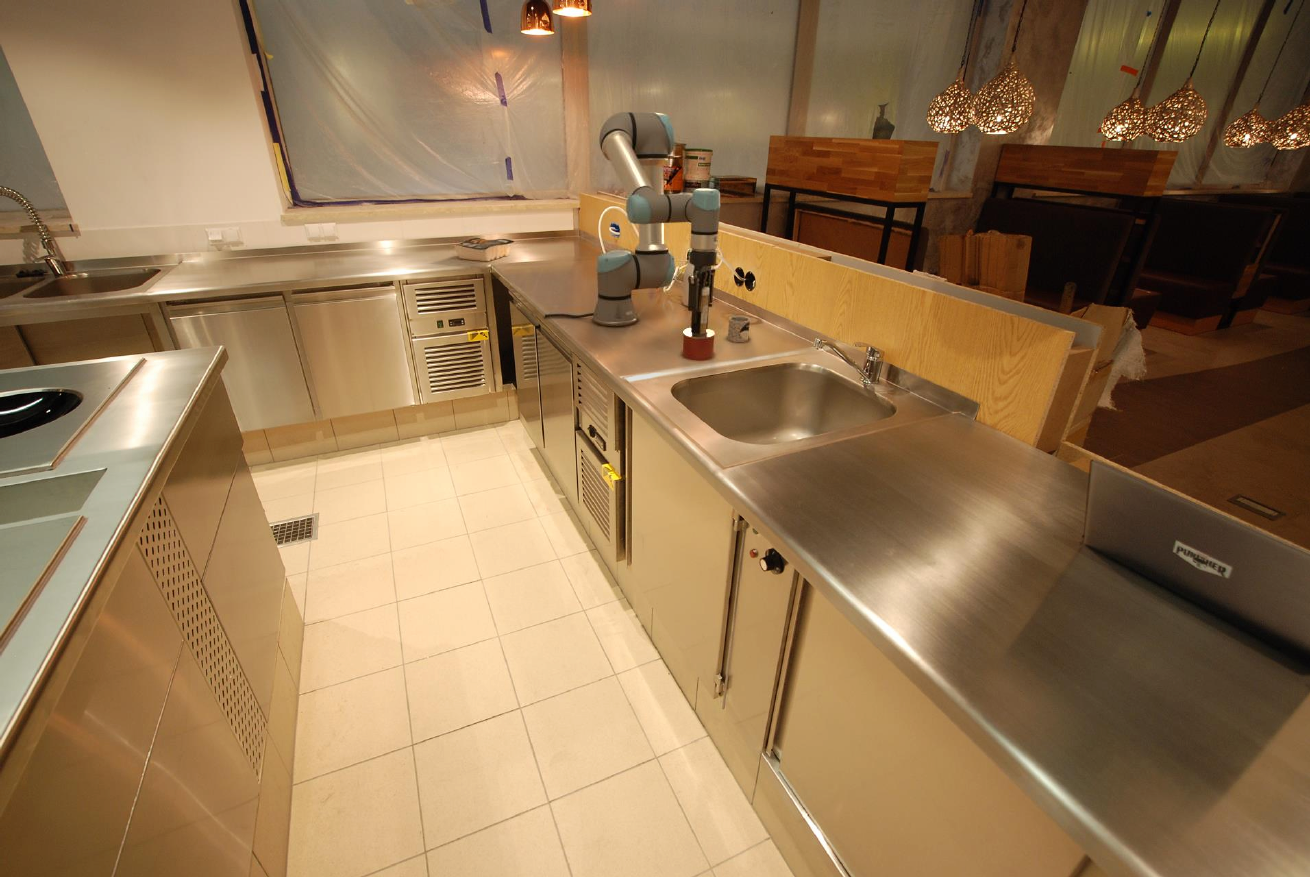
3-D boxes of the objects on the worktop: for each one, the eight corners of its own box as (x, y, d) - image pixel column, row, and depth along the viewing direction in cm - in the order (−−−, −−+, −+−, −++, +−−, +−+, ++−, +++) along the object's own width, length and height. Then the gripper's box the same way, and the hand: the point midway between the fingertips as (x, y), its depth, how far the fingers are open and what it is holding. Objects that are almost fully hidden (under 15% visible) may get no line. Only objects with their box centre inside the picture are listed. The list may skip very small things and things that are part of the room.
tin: (677, 356, 172) (677, 334, 169) (690, 347, 180) (691, 325, 176) (705, 362, 168) (706, 339, 165) (718, 352, 176) (719, 330, 172)
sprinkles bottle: (688, 332, 170) (690, 287, 164) (697, 329, 173) (699, 284, 167) (700, 335, 168) (703, 290, 161) (709, 332, 171) (712, 287, 164)
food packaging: (478, 236, 306) (514, 239, 299) (480, 251, 310) (516, 254, 303) (447, 244, 286) (486, 247, 279) (450, 259, 289) (487, 263, 282)
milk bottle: (700, 307, 220) (703, 253, 210) (681, 306, 221) (683, 252, 211) (703, 302, 226) (706, 250, 217) (684, 301, 227) (686, 249, 218)
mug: (742, 343, 184) (744, 323, 180) (724, 339, 187) (725, 319, 183) (755, 335, 191) (757, 315, 188) (737, 331, 194) (738, 312, 191)
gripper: (702, 256, 151) (698, 341, 162) (728, 246, 164) (722, 325, 176) (677, 253, 154) (674, 336, 165) (704, 243, 168) (700, 321, 179)
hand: (699, 330), depth 170 cm, fingers closed on sprinkles bottle, 4 cm apart
